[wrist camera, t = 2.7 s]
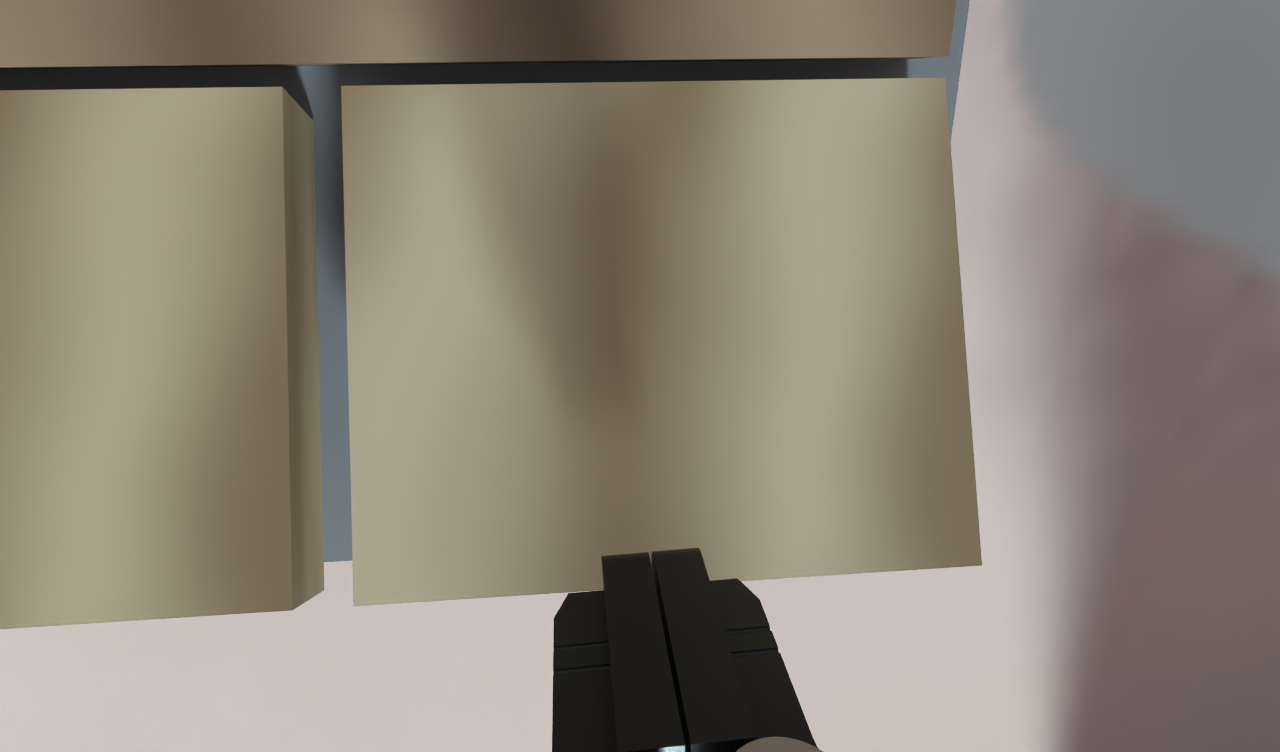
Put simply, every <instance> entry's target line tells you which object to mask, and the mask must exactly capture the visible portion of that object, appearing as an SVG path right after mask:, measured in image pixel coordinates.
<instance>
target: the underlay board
mask: <svg viewBox="0 0 1280 752" xmlns="http://www.w3.org/2000/svg"><path fill="white" fill-rule="evenodd" d="M968 7H969V0H956V7H955V15H954V23H953V30H952V38H951V46H950V54H949V56H947V57H934V58H921V59H877V60H789V61H702V62H615V63H528V64H440V65H353V66H266V67H179V68H91V69H4V70H0V90H70V89H144V88H219V87H283V88H284V89H285V90H286V91H287V92H288V93H289V95H290V96H291V97H292V98H293V99H294V100H295V101H296V102H297V103H298V105H299V106H300V107H301V108H302V109H303V110H304V111H305V112H306V113H307V115H308V116H309V117H310V118H311V119H312V120H313V121H314V151H315V197H316V243H317V289H318V334H319V380H320V426H321V471H322V517H323V562H333V561H350V560H353V557H352V515H351V474H350V433H349V392H348V350H347V309H346V268H345V226H344V185H343V144H342V102H341V86H367V85H441V84H516V83H590V82H664V81H739V80H813V79H887V78H945V79H946V93H947V106H948V119H949V133H950V141H951V133H952V126H953V119H954V111H955V104H956V96H957V89H958V81H959V74H960V67H961V59H962V52H963V44H964V37H965V29H966V22H967V15H968Z"/></svg>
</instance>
